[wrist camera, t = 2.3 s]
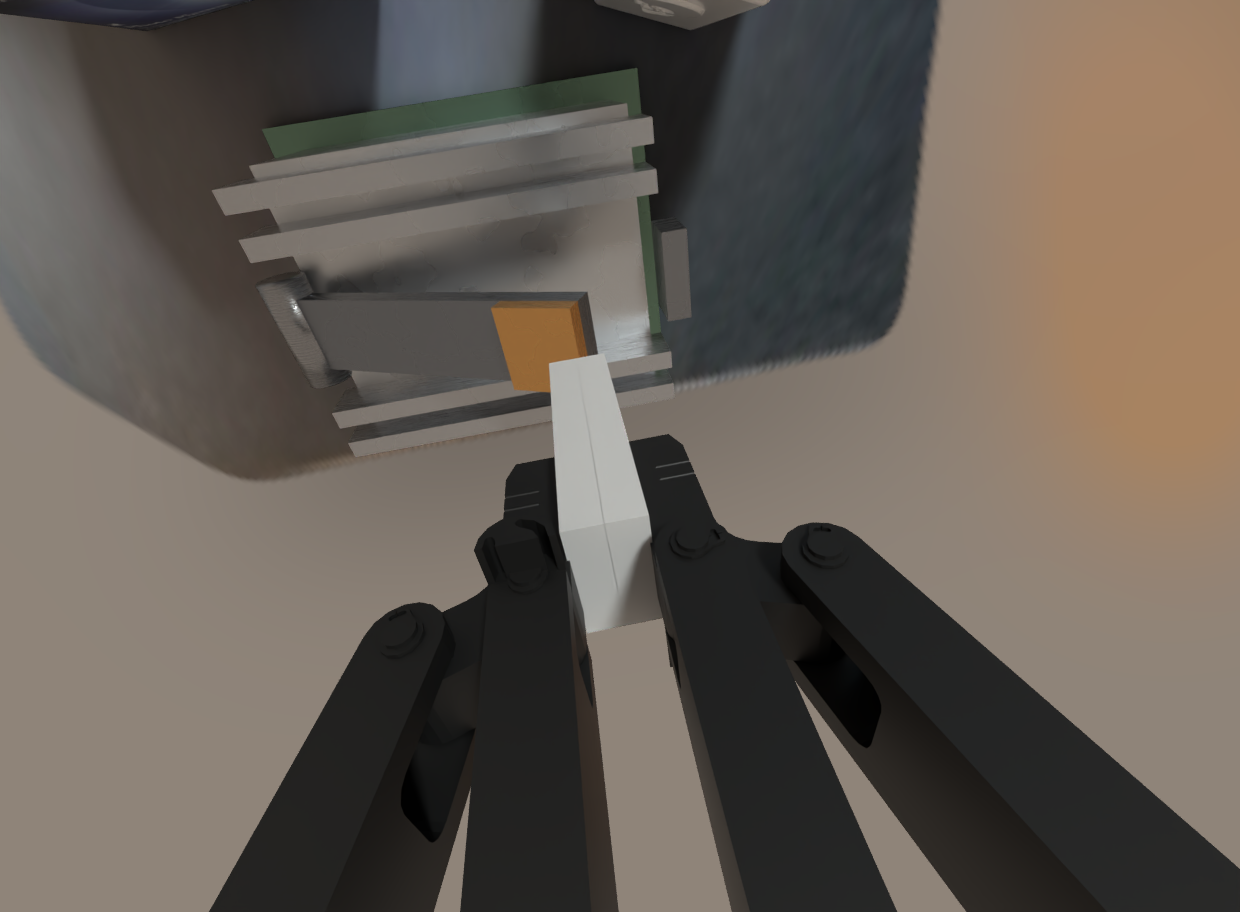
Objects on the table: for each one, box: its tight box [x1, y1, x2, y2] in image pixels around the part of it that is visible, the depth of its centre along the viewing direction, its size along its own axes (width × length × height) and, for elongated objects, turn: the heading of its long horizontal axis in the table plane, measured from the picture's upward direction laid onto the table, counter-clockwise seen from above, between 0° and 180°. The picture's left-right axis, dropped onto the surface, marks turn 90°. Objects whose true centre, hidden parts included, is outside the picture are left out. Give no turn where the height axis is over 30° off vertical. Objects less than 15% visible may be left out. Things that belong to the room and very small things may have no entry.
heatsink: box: [212, 68, 691, 457], centre depth 24 cm, size 14×17×9 cm
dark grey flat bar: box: [255, 272, 598, 392], centre depth 20 cm, size 14×4×2 cm, turn 97°
